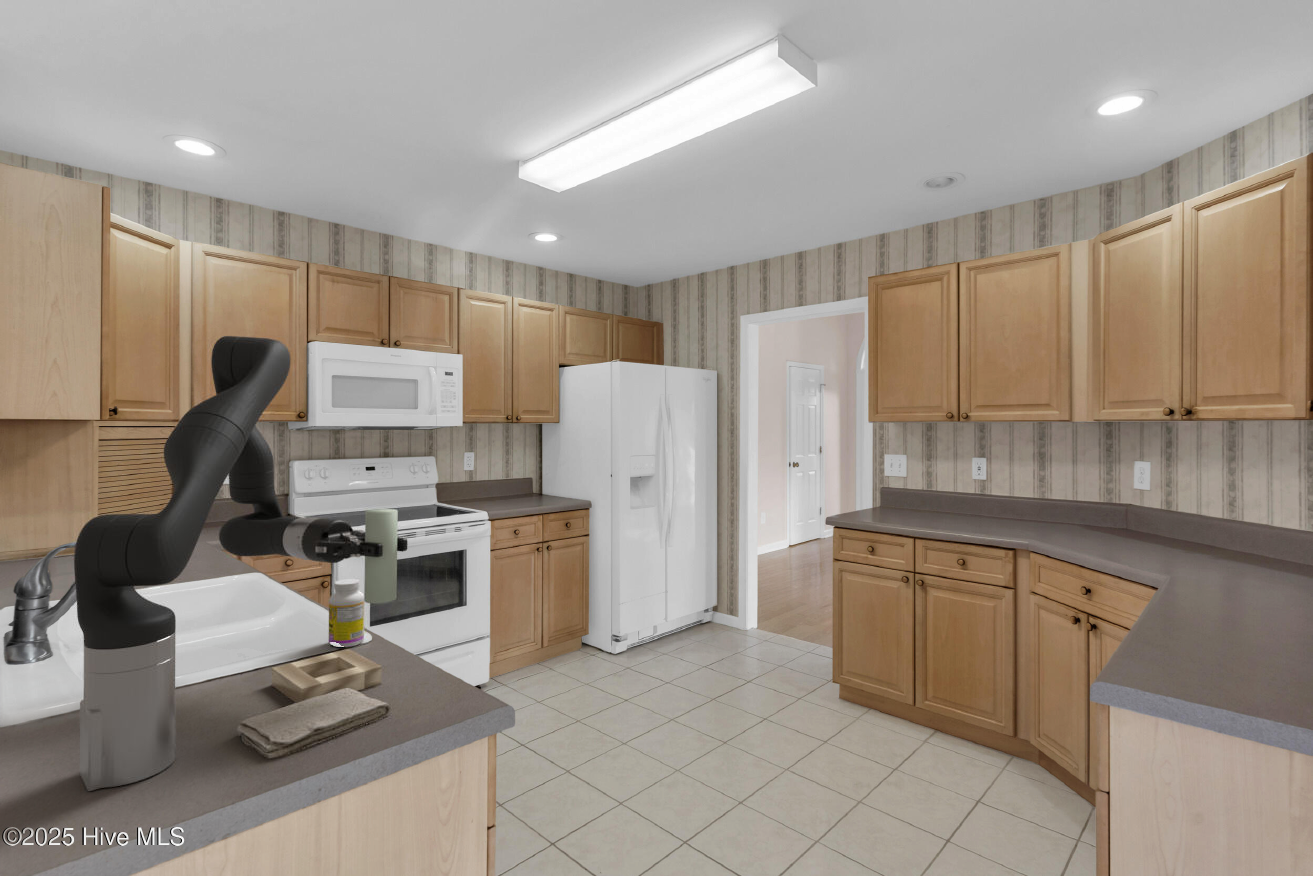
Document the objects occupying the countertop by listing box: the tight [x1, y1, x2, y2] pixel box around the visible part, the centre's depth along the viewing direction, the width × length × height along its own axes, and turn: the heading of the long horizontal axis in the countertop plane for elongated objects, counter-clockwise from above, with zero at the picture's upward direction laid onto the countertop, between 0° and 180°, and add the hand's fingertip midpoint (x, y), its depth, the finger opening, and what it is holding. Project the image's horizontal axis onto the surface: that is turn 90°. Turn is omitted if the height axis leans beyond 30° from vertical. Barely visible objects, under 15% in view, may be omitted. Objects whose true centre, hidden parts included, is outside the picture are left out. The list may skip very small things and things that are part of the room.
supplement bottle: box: [328, 578, 365, 648], centre depth 132 cm, size 7×7×13 cm
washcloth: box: [236, 688, 392, 759], centre depth 96 cm, size 12×18×3 cm, turn 146°
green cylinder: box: [363, 508, 399, 605], centre depth 108 cm, size 5×5×15 cm
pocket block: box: [271, 648, 383, 703], centre depth 111 cm, size 13×13×3 cm
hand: (393, 547), depth 107 cm, fingers closed on green cylinder, 5 cm apart
